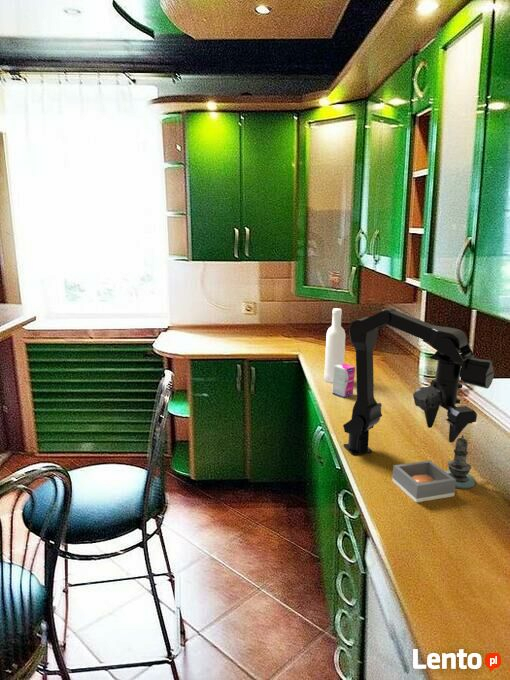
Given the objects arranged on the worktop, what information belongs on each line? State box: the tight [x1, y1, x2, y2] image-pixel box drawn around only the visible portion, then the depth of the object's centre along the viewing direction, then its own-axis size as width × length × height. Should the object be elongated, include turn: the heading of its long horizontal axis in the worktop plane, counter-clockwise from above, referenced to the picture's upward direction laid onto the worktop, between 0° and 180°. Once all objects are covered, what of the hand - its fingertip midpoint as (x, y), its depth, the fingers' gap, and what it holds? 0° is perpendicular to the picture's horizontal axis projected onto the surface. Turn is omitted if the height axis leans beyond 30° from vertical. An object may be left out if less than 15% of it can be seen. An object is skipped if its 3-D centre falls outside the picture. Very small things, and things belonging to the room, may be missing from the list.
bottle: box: [323, 307, 346, 384], centre depth 220 cm, size 8×8×30 cm
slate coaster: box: [444, 469, 476, 490], centre depth 142 cm, size 8×8×1 cm
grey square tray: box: [391, 459, 456, 503], centre depth 138 cm, size 11×11×4 cm
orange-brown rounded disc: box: [412, 475, 434, 483], centre depth 138 cm, size 6×6×1 cm
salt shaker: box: [447, 435, 472, 483], centre depth 141 cm, size 6×6×12 cm
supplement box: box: [331, 362, 356, 399], centre depth 205 cm, size 6×6×12 cm
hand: (440, 434), depth 142 cm, fingers open, 9 cm apart
